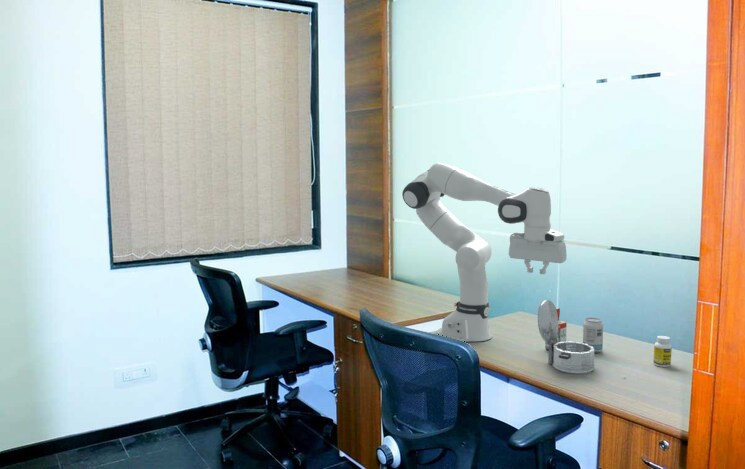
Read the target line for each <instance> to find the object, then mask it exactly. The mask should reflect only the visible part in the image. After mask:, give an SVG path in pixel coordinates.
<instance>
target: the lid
mask: <svg viewBox="0 0 745 469" xmlns="http://www.w3.org/2000/svg"><path fill="white" fill-rule="evenodd" d="M556 309H557V308H556V306H555V304H554V302H553V301H552V300H549V299H544V300H542V302H541V303H540V305H539V308H538V313H537V326H538V331H539V335H540V336H541V338H542V340H543V341H544V342H549V345H552V344H553V343H555V342H556V340H555V338H556V336H557V333H558V314H557V310H556Z"/></svg>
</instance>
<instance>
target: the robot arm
mask: <svg viewBox="0 0 745 469" xmlns="http://www.w3.org/2000/svg"><path fill="white" fill-rule="evenodd" d="M401 193H402V199H403V201H404V203H405V205H407V206H408V207H409V208H411V209H413V210H415V212H416V215H417V216H418V218H419V219H420V221H421V222H422V223H423V225H424V226H425V227H426V228H427V229H428V230H429V231H430V232H431V233H432V234H433V235H434V236H435V237H436V238H437V239H438V240H439V241H440V242H441V243H442V244H443V245H444V246H447V247H449V249H451V250H452V251H455V253H456V254H455V262H456V265H457V272H458V277H459V278H458V279H459V301H457V302H456V303H454V304H453V307H454V308H455V307H456V308H455V310H453V311H452V312H451V313H449V314H448V315H447V316H445V317H444V318H443V320H442V325H441V328H438V329H437V330H436V335H437V334H439V335H438V336H440V335H443V336H442V337H444V336H447V337H451V338H455V339H459V340H462V341H465V342H464V343H466V342H483V341H484V342H485V341H487V340H488V341H489V340H490V339H492V333H491V329H490V322H489V316H490V315H489V313H490V303H489V299H488V298H489V282H488V279H487V274H486V273H487V272H486V264H487V263H488V262H489V261H490V259H491V256H492V247H491V244H489V242H487V241H486V240H484V239H483V238H481V236H479V235H478V233H475V232H474V231H472V230H471V229H470V228H468V227H467V226H466V225H465V224H463V223H462V222H461V221H460V219H458V218H457V217H456V216H455V215H454V214H453V212H451V211H450V210H449V209H448V208H447V207H445V205H443V203H442V201H441V198H443V197H444V196H445V195H446V196H447V197H449V198H452V199H454V200H458V201H461V202H462V201H463V202H476V201H479V202H487V203H490V204H493V205H496V206H497V207H498V208H497V213H498V217H499V219H500V220H501V221H502V222H504V223H506V224H510V225H513V224H519V223H520V224H521V223H522V224H523V225H524V226H523V228H524V229H523V232H513V233H512V234H511V235H510V236H509V247H508V257H509V258H510V259H516V260H523V261H524V265H525V267H526V268H527V269H526V270H527V271H526V272H527V273H528V274H529V273H530V274H531V273H534V267H533V266H531V262H532V261H533V262H534V261H535V262H542V265H543V267H542V268H540V269H539V274H540V275H546V273H547V270H546V269H548V267H549V265H550V263H553V264H563V263H565V262H566V260H567V246H566V243H565V241H564V240H565V235H564V233H561V232H559V231H557V230H554V229H552V228H551V227H552V226H551V225H552V224H551V220H550V218H551V214H552V202H551V201H552V200H551V195H550V192H549V191H548V190H547V189H545V188H543V187H542V188H541V187H535V186H531V187H527V188H526V189H525V190H524V191H522V192H520V193H518V194H515V193H513V192H509V191H508V190H504V189H502V188H500V187H498V186H495V185H492V184H490V183H488V182H486V181H484V180H482V179H480V178H478V177H477V176H474V175H473V174H472V173H469V172H467V171H465V170H463V169H460V168H459V167H456V166H453V165H450V164H446V163H441V162H437V163H434V164H432V166H430V168H429V169H428V170H426V171H425V172H423V173H421V174H419V175H418V176H417V177H416V178H414V179H413V180H412V181H411V182H409V183H407V185H406V186H405V187H404V188H403V190H402V192H401ZM447 337H446V338H447Z"/></svg>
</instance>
